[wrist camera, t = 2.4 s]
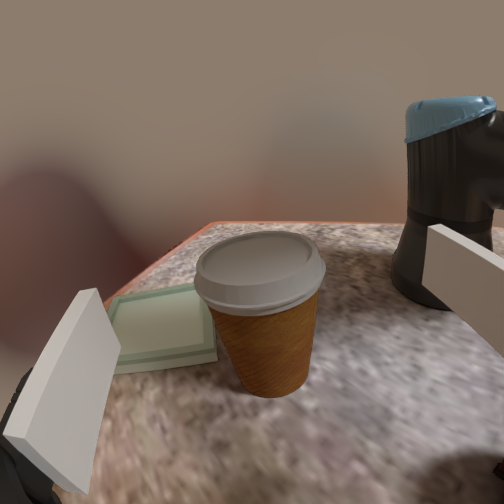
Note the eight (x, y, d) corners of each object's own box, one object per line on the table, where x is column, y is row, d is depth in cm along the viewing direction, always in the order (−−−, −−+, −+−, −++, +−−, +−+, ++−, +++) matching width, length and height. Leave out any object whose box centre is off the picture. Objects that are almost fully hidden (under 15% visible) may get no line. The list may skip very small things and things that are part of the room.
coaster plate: (212, 290, 41) (209, 279, 41) (218, 360, 29) (214, 347, 28) (118, 307, 40) (114, 296, 39) (93, 376, 27) (86, 364, 27)
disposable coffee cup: (205, 367, 28) (172, 256, 23) (284, 326, 32) (271, 220, 27) (259, 432, 20) (229, 310, 16) (348, 372, 25) (354, 249, 20)
